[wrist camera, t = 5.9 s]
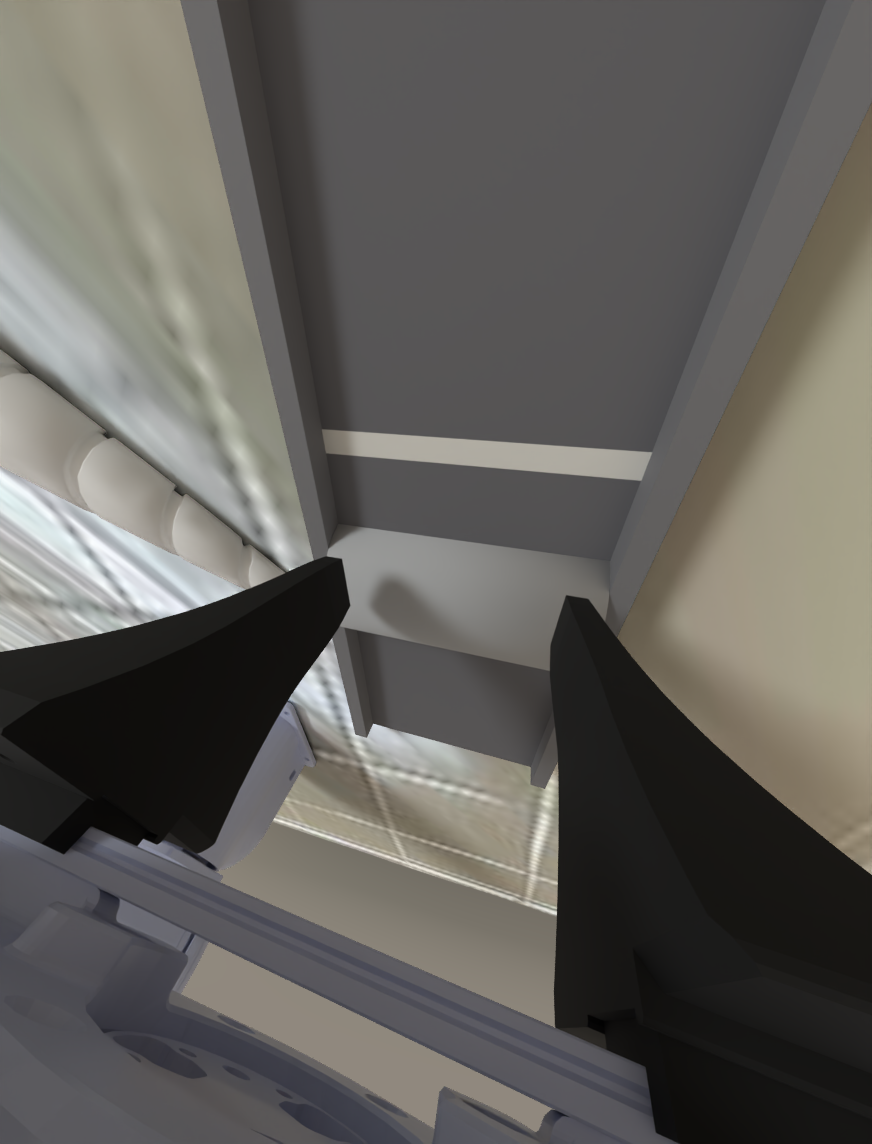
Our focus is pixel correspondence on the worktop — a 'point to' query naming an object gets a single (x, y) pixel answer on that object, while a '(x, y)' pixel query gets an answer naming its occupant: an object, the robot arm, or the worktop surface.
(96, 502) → the unicorn horn
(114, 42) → the worktop surface
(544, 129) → the divided tray
